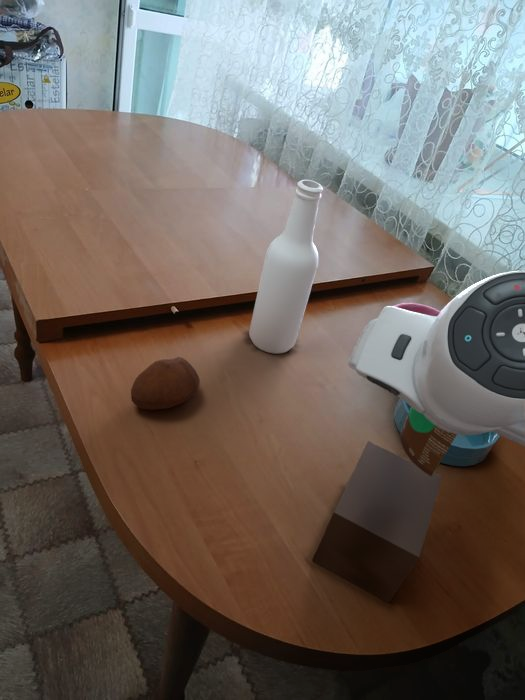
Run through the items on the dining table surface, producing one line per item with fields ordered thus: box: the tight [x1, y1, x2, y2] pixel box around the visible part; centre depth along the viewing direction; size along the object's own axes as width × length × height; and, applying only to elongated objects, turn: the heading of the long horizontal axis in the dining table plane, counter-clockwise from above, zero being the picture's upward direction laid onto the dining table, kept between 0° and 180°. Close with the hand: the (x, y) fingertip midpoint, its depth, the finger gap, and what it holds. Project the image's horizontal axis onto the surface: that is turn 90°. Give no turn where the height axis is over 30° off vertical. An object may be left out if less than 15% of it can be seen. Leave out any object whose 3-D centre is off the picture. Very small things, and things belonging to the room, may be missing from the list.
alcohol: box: [248, 179, 324, 354], centre depth 91 cm, size 9×9×30 cm
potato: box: [130, 356, 201, 411], centre depth 80 cm, size 8×12×8 cm, turn 138°
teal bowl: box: [393, 397, 501, 467], centre depth 88 cm, size 16×16×4 cm
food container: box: [399, 407, 457, 476], centre depth 57 cm, size 12×6×10 cm, turn 147°
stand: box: [312, 440, 443, 604], centre depth 67 cm, size 10×13×10 cm
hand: (443, 399), depth 57 cm, fingers closed on food container, 5 cm apart
